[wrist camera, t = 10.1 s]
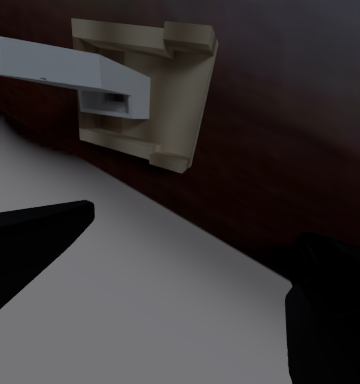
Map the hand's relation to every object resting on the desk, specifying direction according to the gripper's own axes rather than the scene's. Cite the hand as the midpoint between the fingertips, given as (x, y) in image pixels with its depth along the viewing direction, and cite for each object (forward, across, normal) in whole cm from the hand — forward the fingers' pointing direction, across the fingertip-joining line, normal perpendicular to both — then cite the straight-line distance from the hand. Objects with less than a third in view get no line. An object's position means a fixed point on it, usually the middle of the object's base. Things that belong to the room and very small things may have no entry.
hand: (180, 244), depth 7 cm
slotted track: (+13, +9, -5) cm, 17 cm away
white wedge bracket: (+12, +11, -5) cm, 17 cm away
